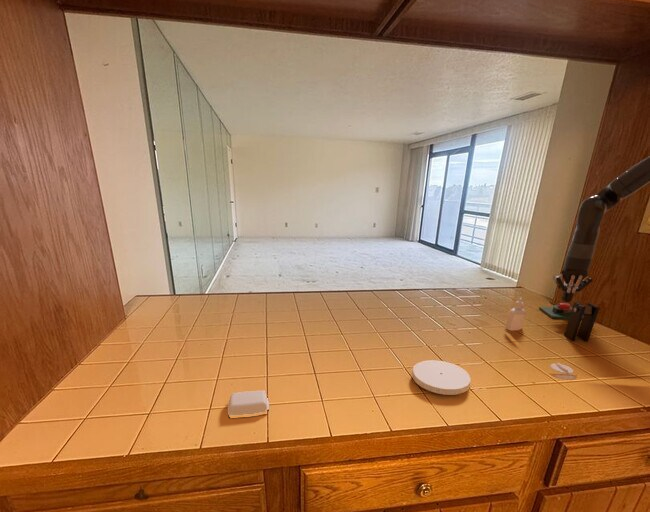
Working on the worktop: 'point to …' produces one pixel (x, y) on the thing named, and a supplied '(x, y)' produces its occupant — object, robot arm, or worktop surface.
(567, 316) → the button box
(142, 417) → the worktop surface
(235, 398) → the soap
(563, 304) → the button
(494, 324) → the worktop surface
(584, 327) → the bracket
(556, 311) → the lever
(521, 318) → the eye dropper bottle
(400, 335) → the worktop surface
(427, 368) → the plastic lid
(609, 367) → the worktop surface
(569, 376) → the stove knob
